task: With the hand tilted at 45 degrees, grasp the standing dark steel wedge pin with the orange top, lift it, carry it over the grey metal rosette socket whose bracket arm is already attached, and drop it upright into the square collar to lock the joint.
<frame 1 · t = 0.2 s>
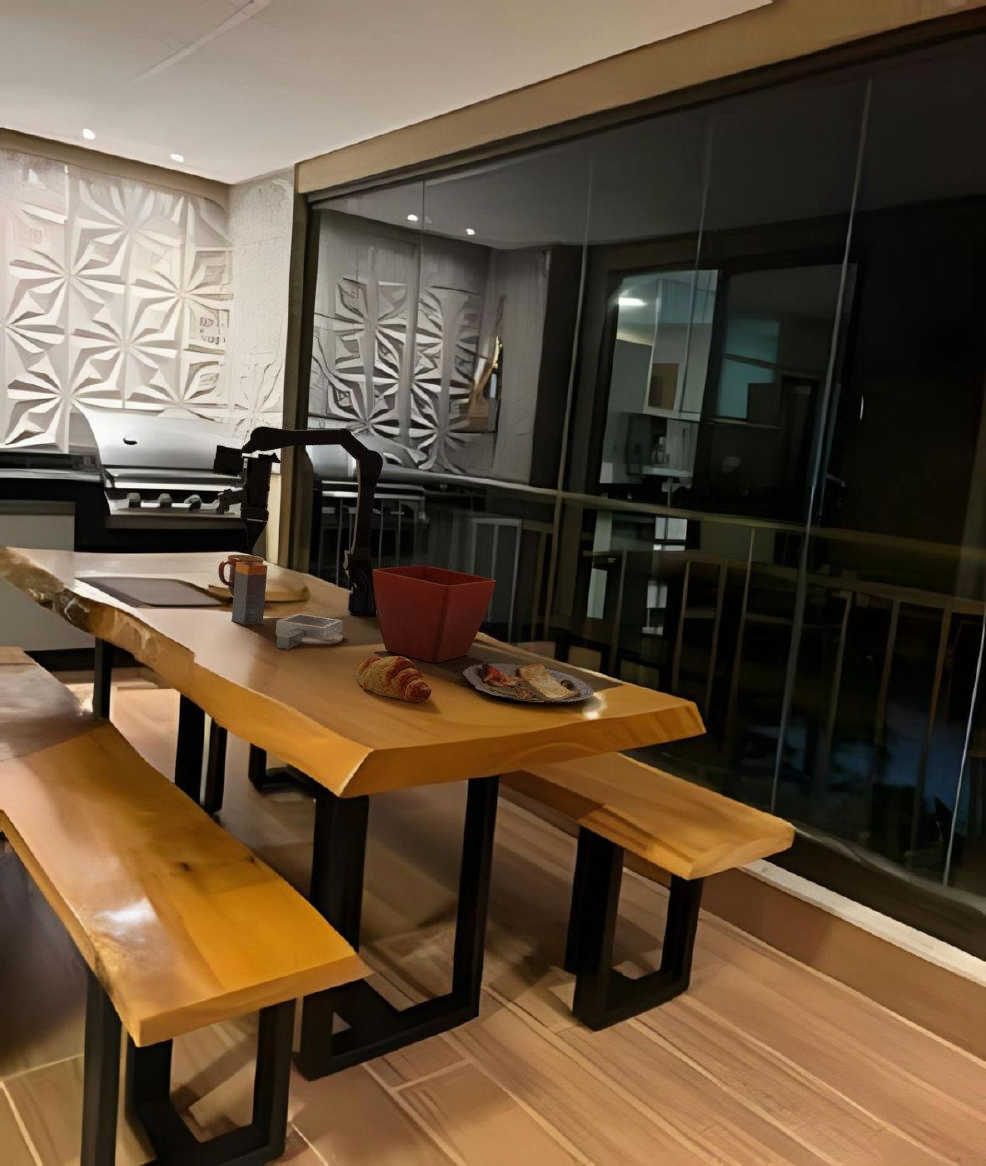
hand: (249, 546, 228), 14 cm above the table, tool pointing down, fingers open, 9 cm apart
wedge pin: (247, 622, 213), on the table
plant pot: (427, 654, 203), on the table
food plate: (526, 692, 182), on the table
rosette socket: (309, 636, 206), on the table
croissant: (391, 692, 171), on the table
mug: (237, 599, 239), on the table
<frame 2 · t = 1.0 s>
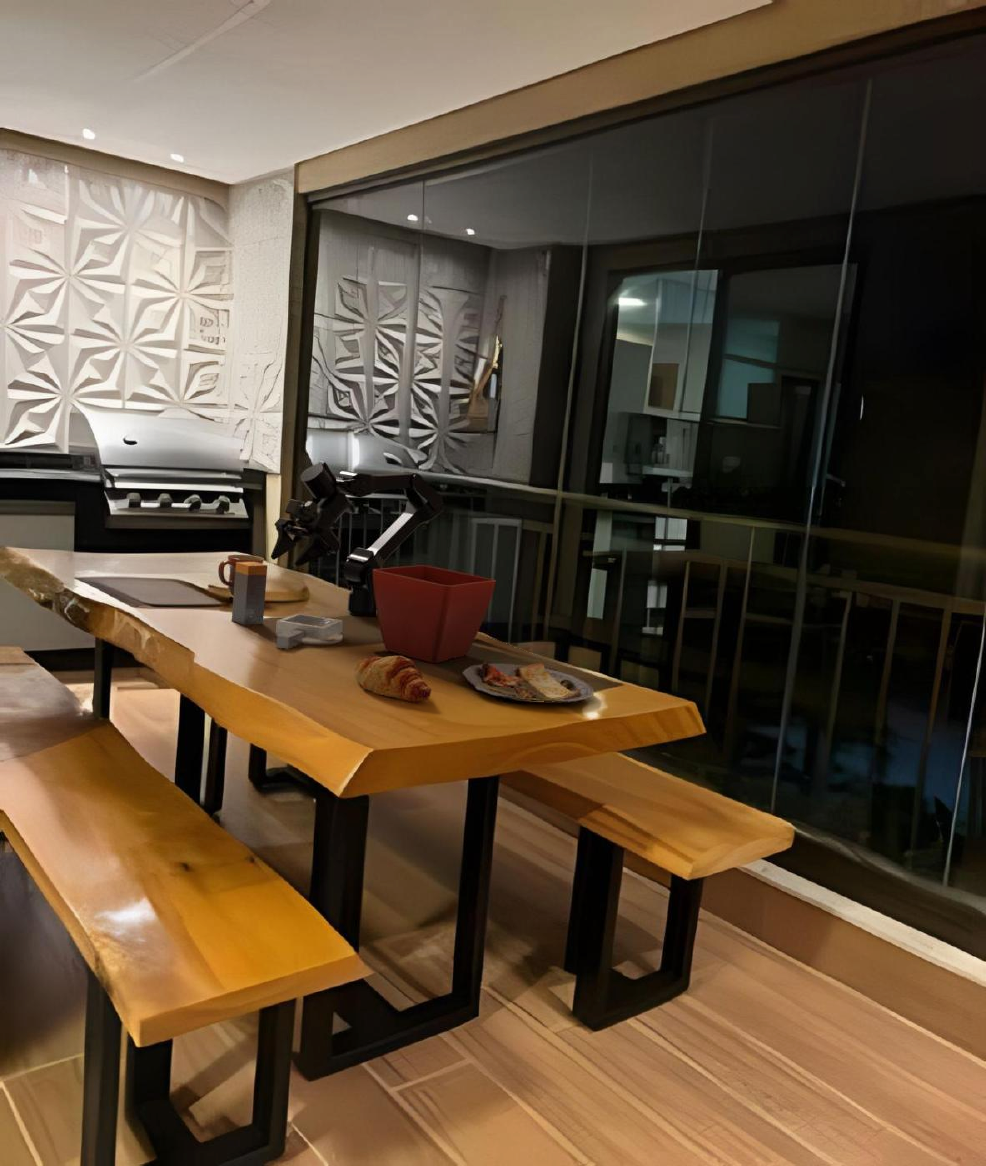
hand: (283, 561, 218), 13 cm above the table, tool tilted 45°, fingers open, 9 cm apart
nothing on the table moved.
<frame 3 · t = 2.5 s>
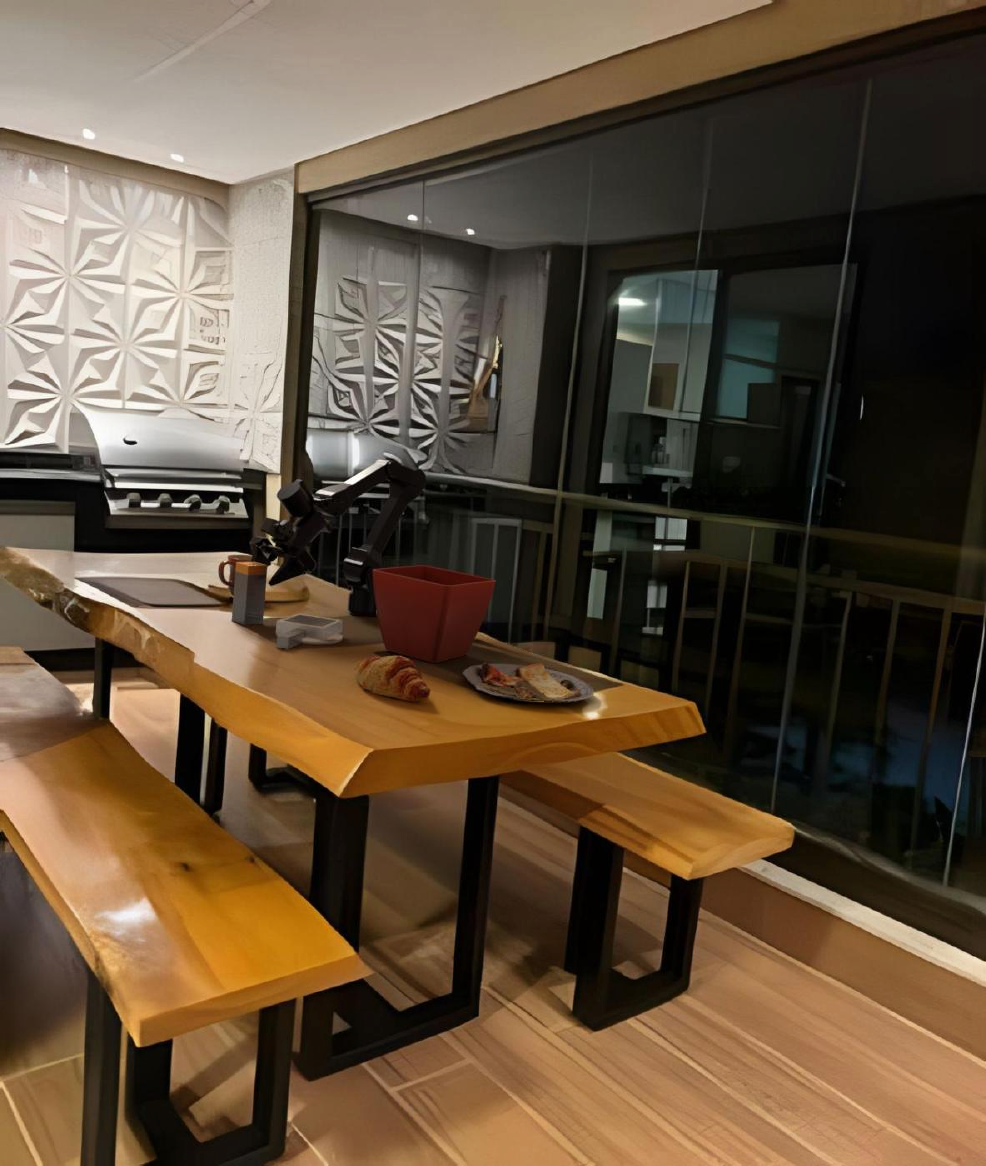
hand: (257, 580, 213), 9 cm above the table, tool tilted 45°, fingers open, 9 cm apart
nothing on the table moved.
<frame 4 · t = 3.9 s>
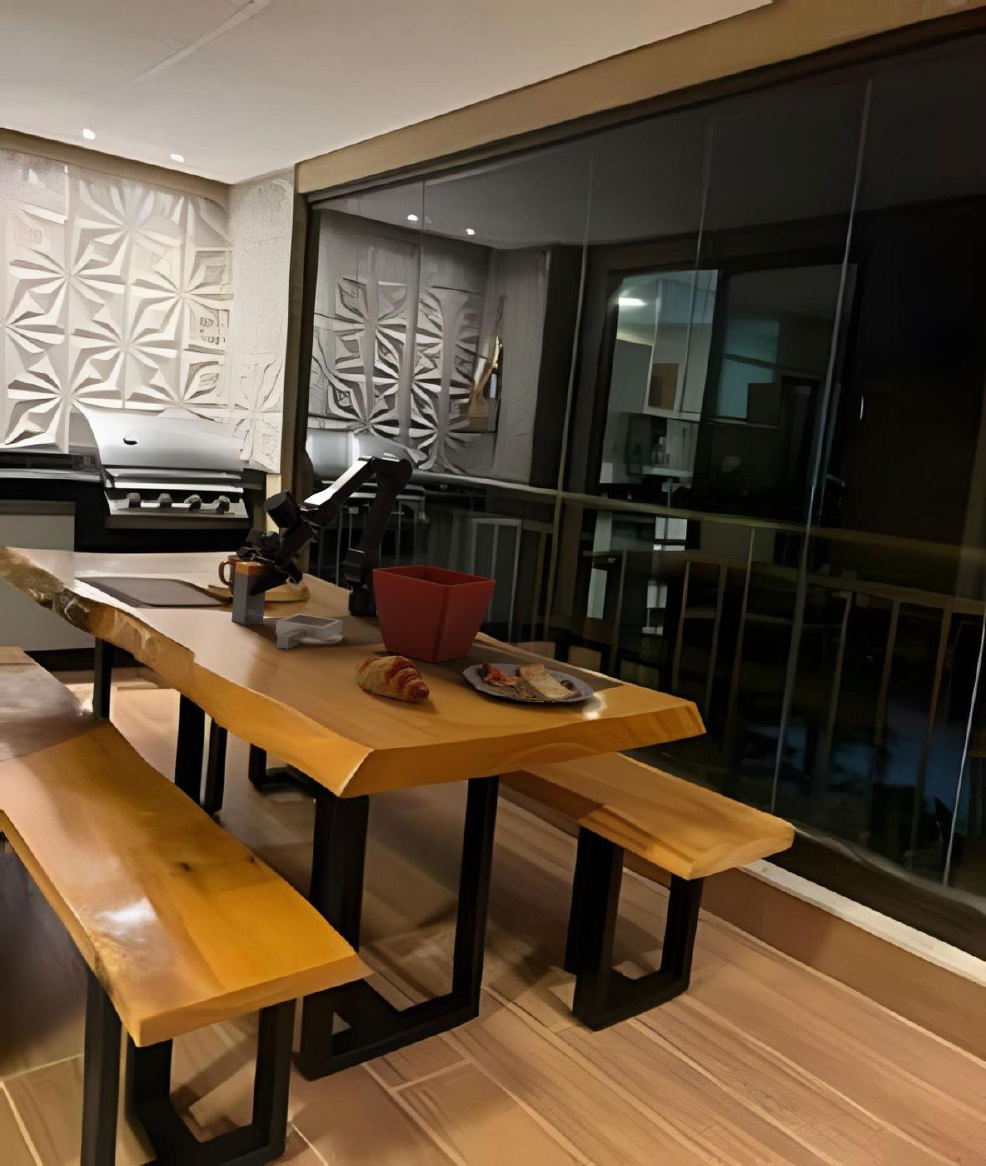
hand: (244, 592, 211), 7 cm above the table, tool tilted 45°, fingers closed on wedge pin, 5 cm apart
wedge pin: (247, 622, 213), on the table, touching gripper
everything else where it was.
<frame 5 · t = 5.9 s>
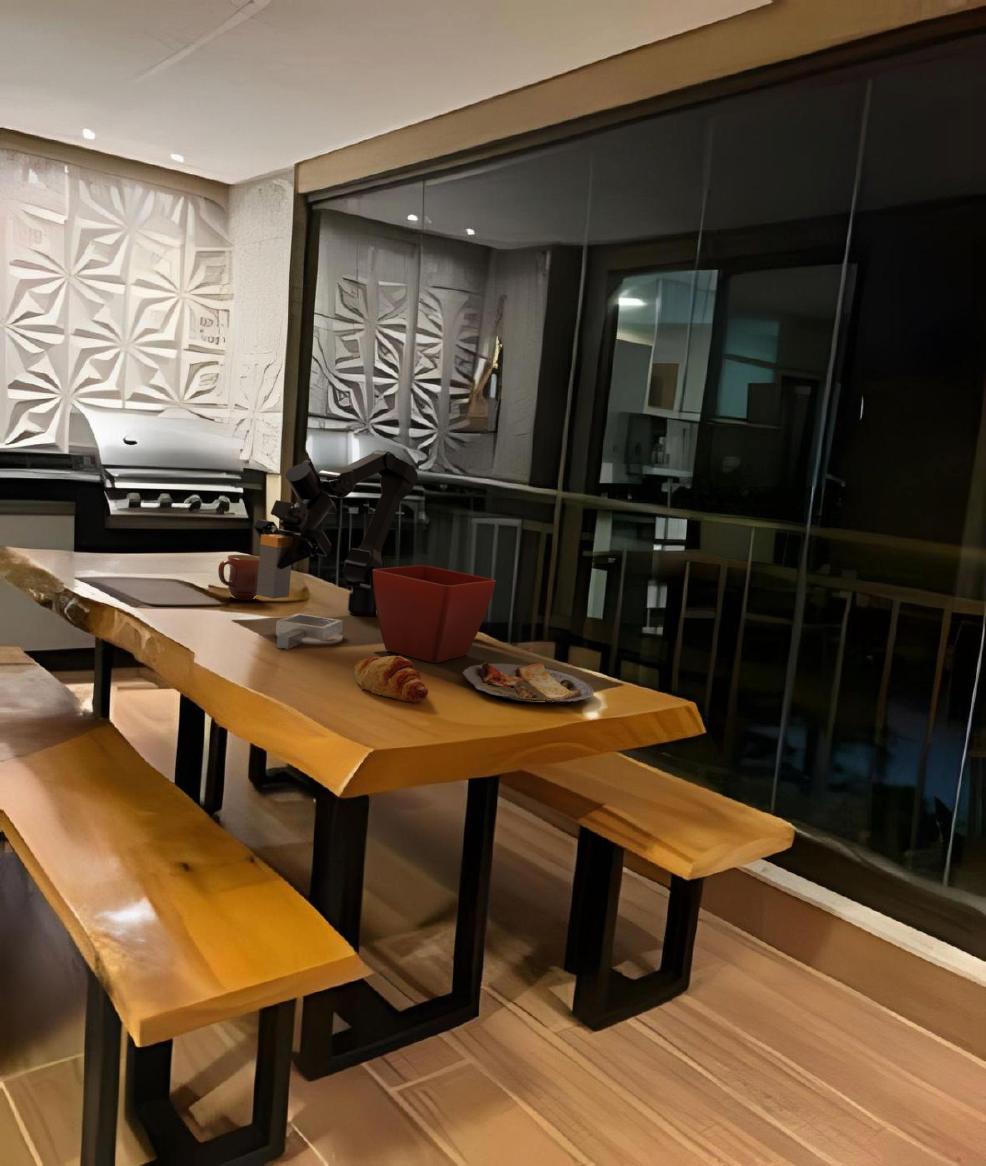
hand: (270, 565, 208), 14 cm above the table, tool tilted 45°, fingers closed on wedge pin, 5 cm apart
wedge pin: (272, 595, 210), point 7 cm above the table, touching gripper
everything else where it was.
when the fingers open (9 cm above the table, at t = 7.9 s): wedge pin drops 1 cm, resting on rosette socket.
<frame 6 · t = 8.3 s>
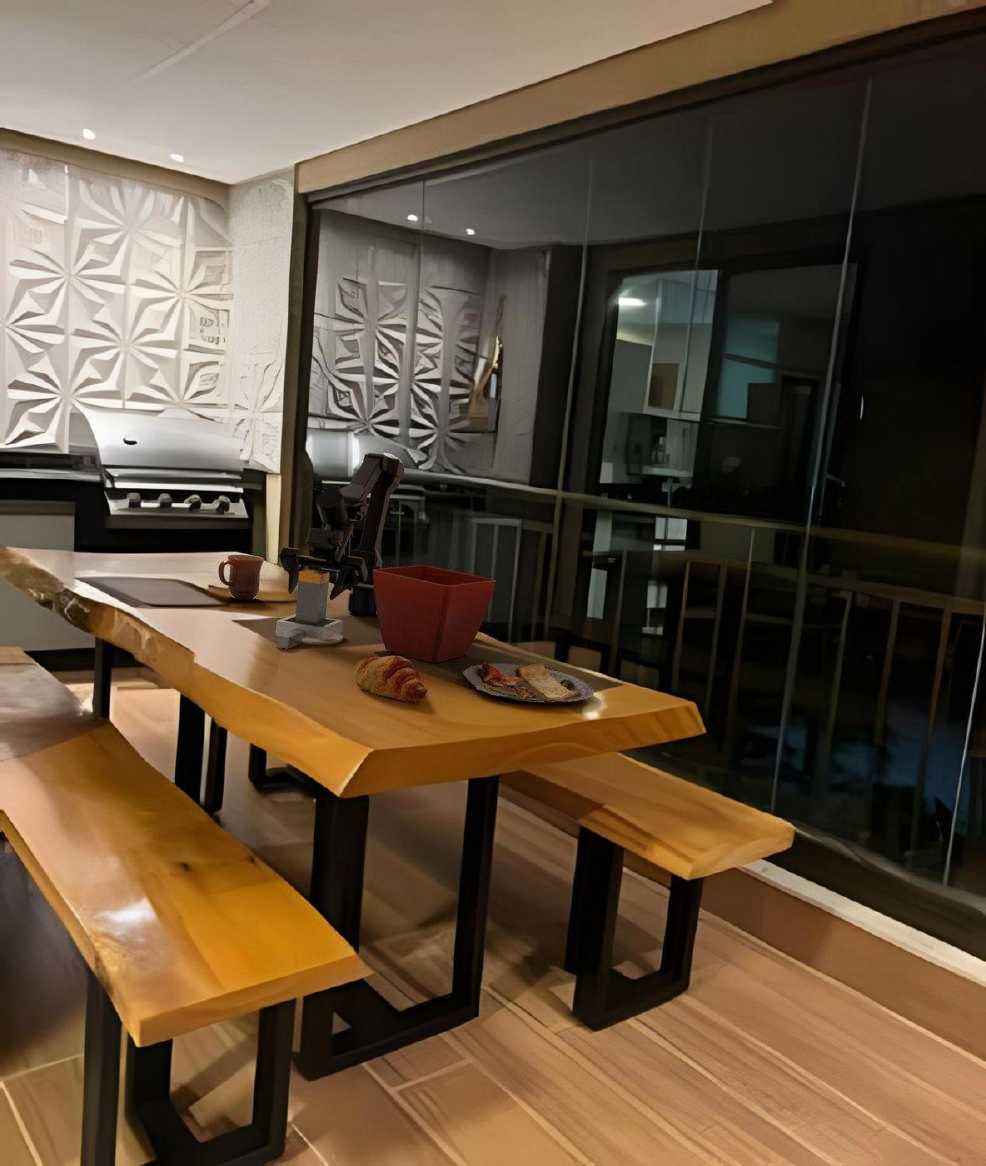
hand: (310, 595, 203), 9 cm above the table, tool tilted 45°, fingers open, 9 cm apart
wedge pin: (309, 632, 206), point 1 cm above the table, touching rosette socket
everything else where it was.
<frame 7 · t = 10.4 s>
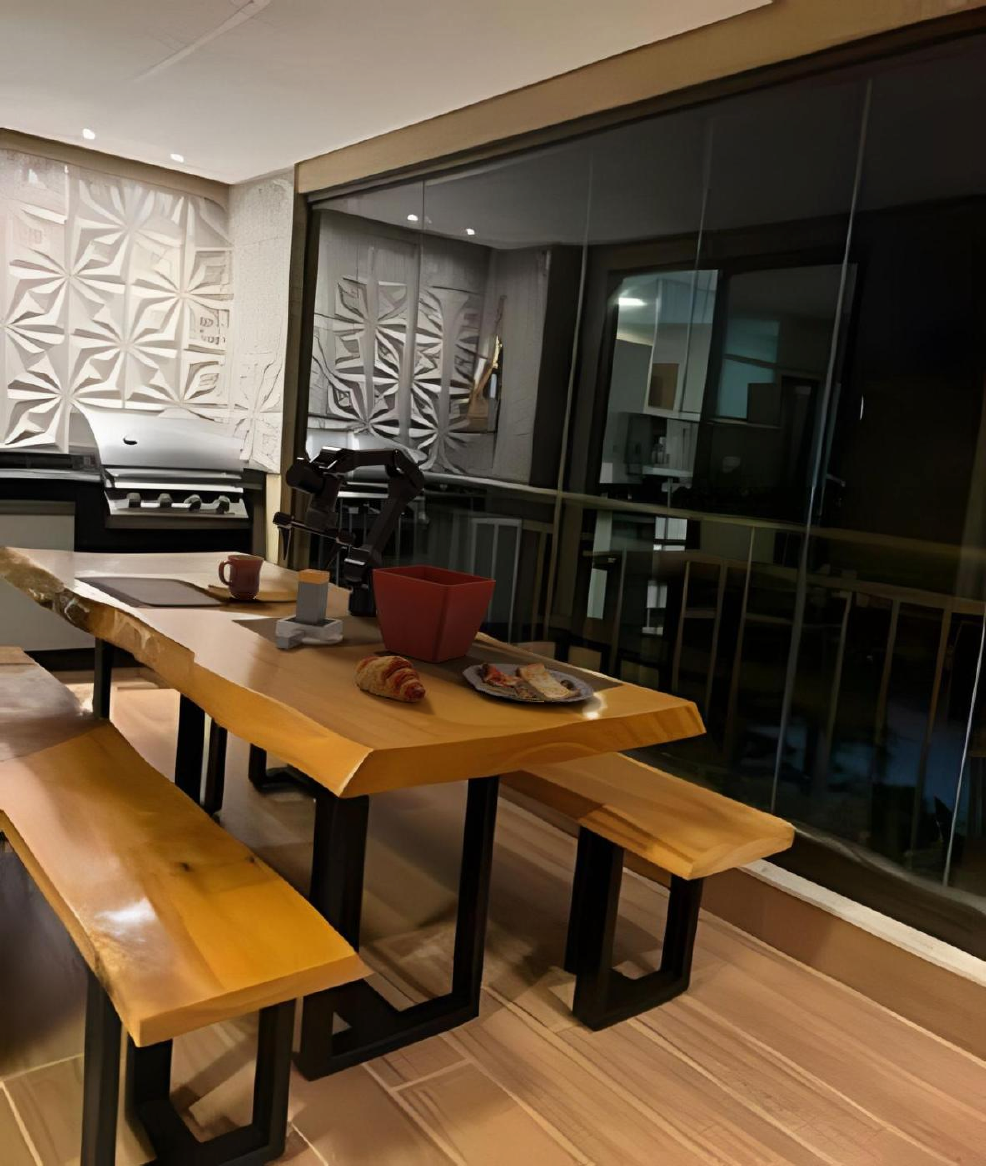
hand: (304, 565, 220), 13 cm above the table, tool tilted 15°, fingers open, 9 cm apart
nothing on the table moved.
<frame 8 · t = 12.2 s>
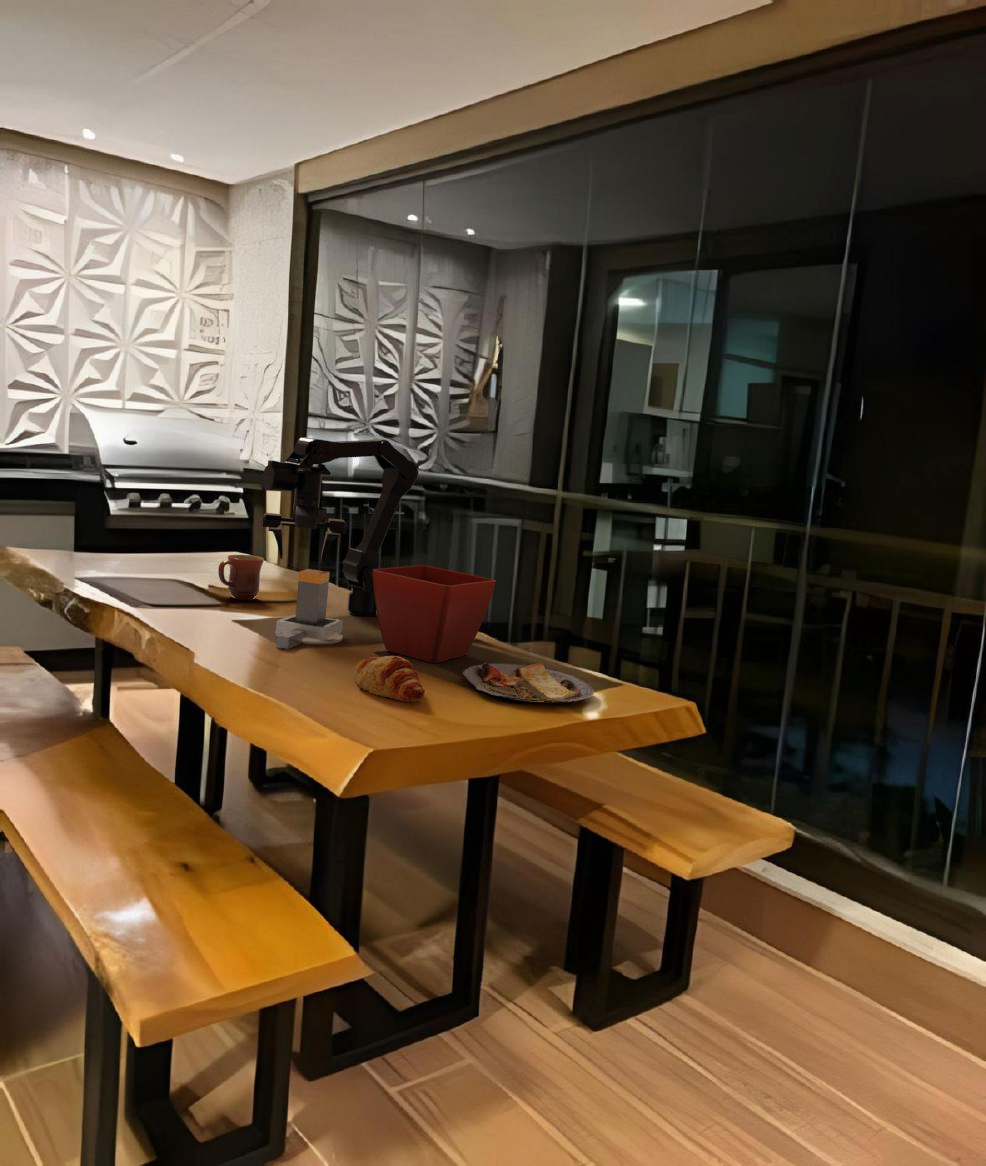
hand: (301, 560, 225), 13 cm above the table, tool pointing down, fingers open, 9 cm apart
nothing on the table moved.
at the end: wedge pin inside the target area on the rosette socket (0.0 cm from its centre), point 1.0 cm above the rosette socket's base; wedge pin tilted 0°; the gripper is holding nothing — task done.
